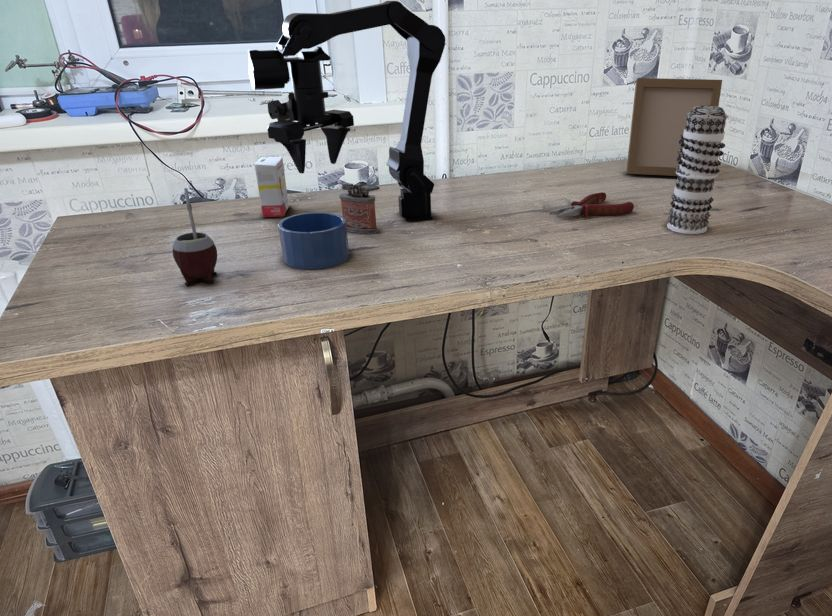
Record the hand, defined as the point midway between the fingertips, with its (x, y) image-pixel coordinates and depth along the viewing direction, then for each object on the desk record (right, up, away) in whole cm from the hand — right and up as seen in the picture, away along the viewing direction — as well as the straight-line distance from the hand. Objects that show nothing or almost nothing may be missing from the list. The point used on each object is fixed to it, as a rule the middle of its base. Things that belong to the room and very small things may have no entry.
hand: (317, 168), depth 129 cm
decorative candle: (+79, -11, +9) cm, 80 cm away
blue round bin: (+2, -19, -7) cm, 21 cm away
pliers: (+59, -5, +19) cm, 62 cm away
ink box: (-14, -5, +17) cm, 23 cm away
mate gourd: (-17, -25, -17) cm, 34 cm away
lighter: (+7, -12, +7) cm, 15 cm away
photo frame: (+87, +13, +51) cm, 102 cm away
